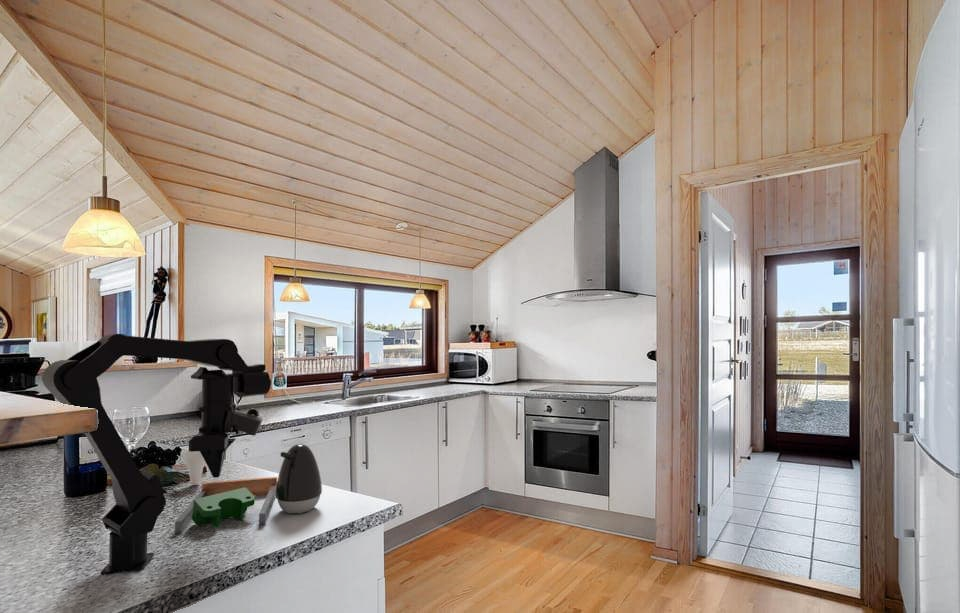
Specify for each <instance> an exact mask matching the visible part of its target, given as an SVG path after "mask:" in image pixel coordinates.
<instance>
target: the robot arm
mask: <svg viewBox="0 0 960 613" xmlns="http://www.w3.org/2000/svg"><path fill="white" fill-rule="evenodd" d="M124 356H128V357H145V358H161V359H177V360H183V361H187V362H190V363H194V364H199V365H201V366H200V367H198V369H197V370H196V371H195V372H193V373H192V374H191V376H190V379H191V380H199V381H200V380H202V381H201V406H198V412H199V413H201V426H200V427H198V433H197V434H195V435H194V436H193V437H191V439H190V440H189V441H188V447H189V451H190V452H194V451H200V453H201V455H202V456H203V458H204V460H205V462H206V463H205V464H206V466H207V468H208V470H209V472H210V474H211V476H212V477H213V478H214V479H215V478H220V476H221V472H222V469H223V466H224V465H223V464H224V461H225V458H226V454H227V453H226V452H227V450H228V448H229V447H231V445H232V444H233V443H234V442H235V441H236V438H229V434H230V433H235V435H239V434H241V432H243V433H246V434H247V435H250V436H256V434H257V433H258V432H259V430H260V426H261V424H262V422H263V419H264V418H263V417H262V416H260V413H259V409H256V408H253V407H251V408H250V409H249V410H248V411H247V412H246V411H245V410H244V411H240V410H237V404H236V403H235V402H234V394H235V396H236V397H237V398H247V397H257V396H265V395H267V394H269V392H270V390H271V385H272V379H271V378H270V374H269V372H268V371H267V370H266V364H264V363H257V364H252V365H248V364H247V362H246V361H244V359H243V358H242V356H241V355H240V354H239V350H238V346H237V345H236V342H234V341H233V340H231V339H227V338H206V339H194V340H192V339H191V340H180V339H179V340H175V339H168V338H167V339H166V338H156V337H155V338H154V337H144V336H137V335H136V336H134V335H127V334H124V333H108V334H106V335H104V336H102V337H101V338H100V339H98V340H97V341H95V342H94V343H92V344H91V345H89V346H87V347H85V348H83V349H82V350H80V351H78V352H76V353H75V354H73V355H72V356H70V357H68V358H67V359H60V360H56V361H54V362H52V363H50V364H49V365H48V366H46V368H45V369H44V371H43V373H42V375H41V378H42V379H41V381H42V383H43V386H44V388H45V389H47V391H49V393H51V395H52V396H53V397H54V398H55V399H56V400H57V401H58V402H59V403H60V404H61V403H63V404H68V405H74V406H80V407H88V408H96V409H97V410H98V419H99V424H98V428H97V430H95V431H92V432H88V433H84V432H83V434H84V436H85V437H86V439H87V440H88V442H89V443H90V446H91V447H92V449H93V451H94V452H95V454H96V456H97V458H98V459H99V461H100V463H101V464H102V466H103V467H104V470H105V471H106V472H107V474H108V476H109V478H110V480H111V484H112V494H113V497H114V501H115V504H114V505H113V507H112V508H111V509H110V510H109V511H107V513H106V514H105V515H104V516H103V517H102V519H101V521H102V524H103V526H104V528H105V530H108V531H110V532H109V538H108V539H109V541H108V542H109V544H108V545H109V548H108V553H109V554H108V563H106V565H105V566H104V567H103V569H101V571H100V575H110V574H117V573H127V572H134V571H135V572H136V571H137V572H139V571H142V570H144V569H145V567H146V566H147V565H148V564H149V562H150V561H151V560H152V559H153V558H154V557H155V556H154V555H155V553H154V552H149V553H148V533H152V532H153V531H154V528H155V526H156V524H157V520H158V517H159V516H160V515H161V514H162V512H164V510H165V506H166V504H167V499H166V497H165V494H167V493H168V491H167V490H165V489H164V487H163V486H162V484H161V482H160V478H159V476H158V474H156V473H153V472H151V471H148V470H147V469H146V470H145V469H142V470H140V469H139V467H138V466H137V464H136V462H135V461H134V459H133V457H132V455H131V454H130V451H129V450H128V448H127V447H126V445H125V443H124V441H123V439H122V438H121V436H120V433H119V432H118V431H117V429H116V427H115V425H114V424H113V421H112V420H111V418H110V417H109V415H108V412H107V411H106V409H105V408H104V406H103V403H102V397H101V396H102V395H101V387H100V384H99V381H98V378H99V377H100V376H102V374H104V373H105V372H107V370H109V369H110V368H111V367H112V366H113V365H114V364H115V363H116V362H117V361H118V360H120V358H122V357H124ZM202 365H203V366H202ZM205 366H207V367H216V368H218V369H208V368H207V367H205ZM225 371H231V373H226V372H225Z"/></svg>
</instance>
